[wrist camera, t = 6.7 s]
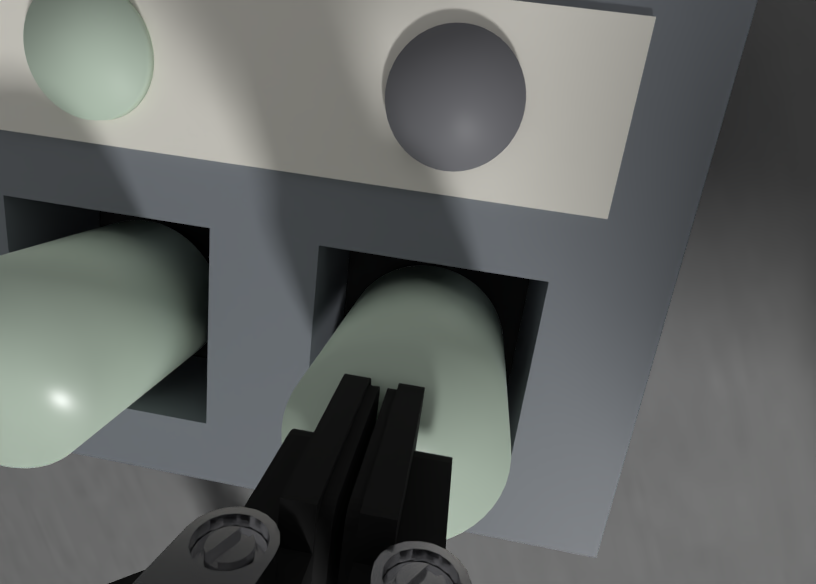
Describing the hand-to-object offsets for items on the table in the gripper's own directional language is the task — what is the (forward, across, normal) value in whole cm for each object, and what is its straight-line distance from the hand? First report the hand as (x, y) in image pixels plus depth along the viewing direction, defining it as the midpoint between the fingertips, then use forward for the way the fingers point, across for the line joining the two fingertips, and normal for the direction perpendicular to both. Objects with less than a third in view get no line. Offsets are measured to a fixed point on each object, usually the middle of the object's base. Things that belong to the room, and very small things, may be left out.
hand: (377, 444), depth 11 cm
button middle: (+6, +9, 0) cm, 11 cm away
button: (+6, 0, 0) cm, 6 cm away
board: (+8, +9, -2) cm, 12 cm away
